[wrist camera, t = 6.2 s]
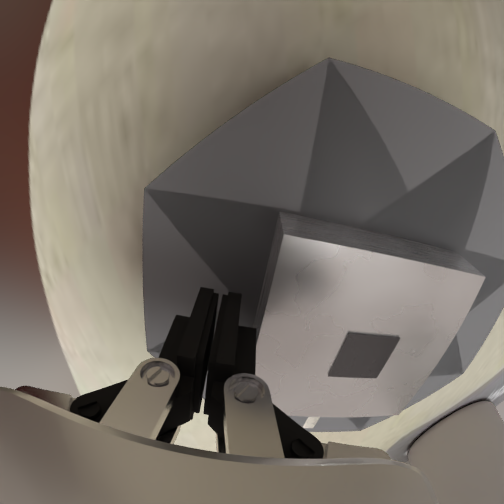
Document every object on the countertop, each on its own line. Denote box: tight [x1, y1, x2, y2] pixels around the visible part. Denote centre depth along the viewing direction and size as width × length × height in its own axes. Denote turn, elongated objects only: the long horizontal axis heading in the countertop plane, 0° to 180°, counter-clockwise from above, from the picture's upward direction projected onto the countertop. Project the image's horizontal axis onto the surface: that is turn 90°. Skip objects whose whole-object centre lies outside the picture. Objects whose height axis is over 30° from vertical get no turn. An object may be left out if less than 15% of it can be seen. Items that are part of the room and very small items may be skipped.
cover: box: [253, 212, 485, 417], centre depth 12 cm, size 9×9×3 cm
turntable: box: [143, 58, 504, 432], centre depth 14 cm, size 21×21×2 cm
